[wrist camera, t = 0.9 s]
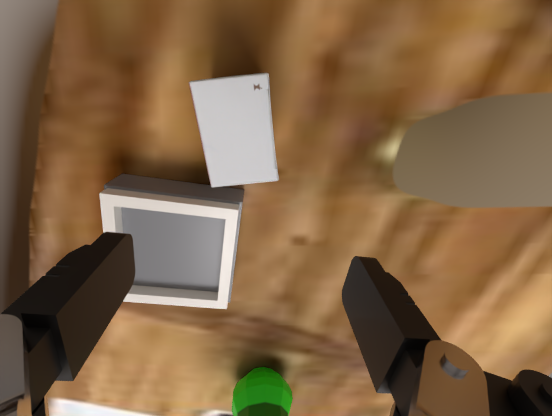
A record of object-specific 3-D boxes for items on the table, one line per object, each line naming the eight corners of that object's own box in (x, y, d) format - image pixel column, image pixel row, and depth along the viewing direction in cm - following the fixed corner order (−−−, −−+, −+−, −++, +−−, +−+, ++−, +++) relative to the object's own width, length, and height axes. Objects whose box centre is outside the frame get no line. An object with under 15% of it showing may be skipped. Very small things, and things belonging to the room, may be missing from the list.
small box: (210, 82, 27) (186, 77, 18) (264, 77, 28) (269, 69, 18) (224, 158, 31) (209, 189, 21) (272, 153, 31) (279, 182, 21)
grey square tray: (122, 173, 31) (95, 189, 26) (244, 189, 32) (241, 207, 27) (128, 272, 36) (107, 302, 31) (232, 281, 38) (228, 311, 33)
